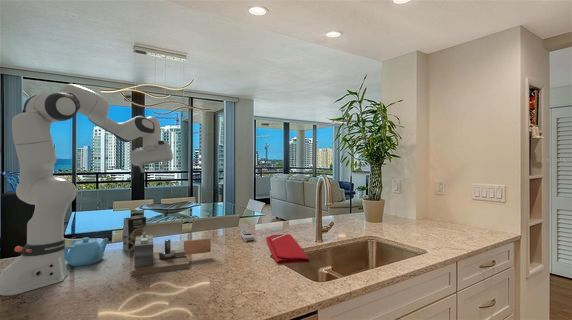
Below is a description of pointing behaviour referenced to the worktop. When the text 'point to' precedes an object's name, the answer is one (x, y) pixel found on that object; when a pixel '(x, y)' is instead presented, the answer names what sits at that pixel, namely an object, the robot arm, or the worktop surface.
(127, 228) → the coffee box
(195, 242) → the wooden lever
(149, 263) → the stand
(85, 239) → the teapot
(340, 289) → the worktop surface
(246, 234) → the mobile phone
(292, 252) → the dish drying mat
